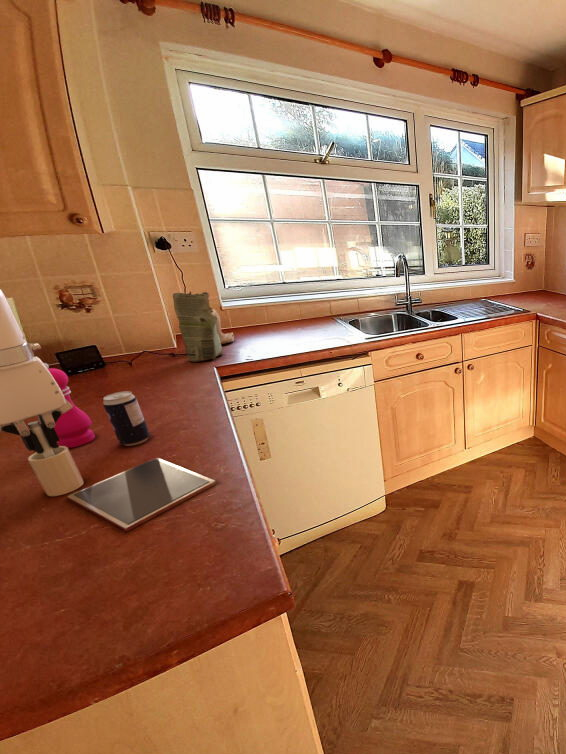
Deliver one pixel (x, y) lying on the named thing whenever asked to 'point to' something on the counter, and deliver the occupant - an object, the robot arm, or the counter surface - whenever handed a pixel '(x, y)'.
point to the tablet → (141, 493)
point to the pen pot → (56, 472)
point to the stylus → (41, 438)
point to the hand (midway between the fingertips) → (45, 448)
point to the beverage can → (126, 418)
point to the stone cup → (223, 337)
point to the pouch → (197, 326)
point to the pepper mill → (71, 417)
